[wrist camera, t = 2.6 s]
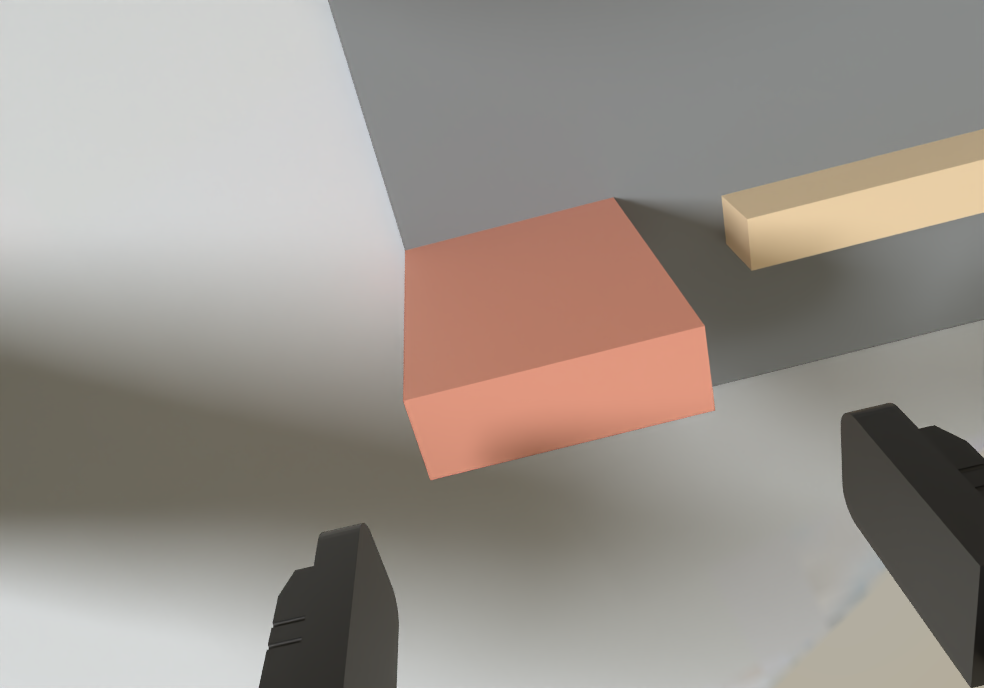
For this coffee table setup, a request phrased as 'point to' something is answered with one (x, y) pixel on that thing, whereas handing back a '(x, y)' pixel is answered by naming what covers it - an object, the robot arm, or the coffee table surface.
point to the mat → (704, 149)
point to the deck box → (545, 339)
